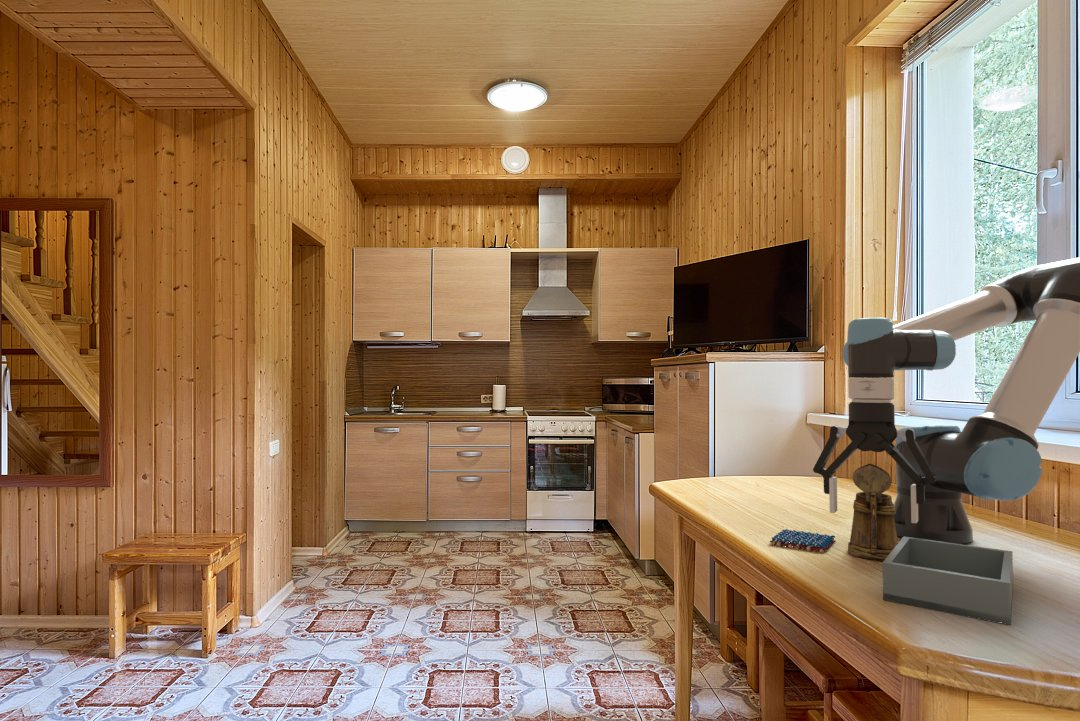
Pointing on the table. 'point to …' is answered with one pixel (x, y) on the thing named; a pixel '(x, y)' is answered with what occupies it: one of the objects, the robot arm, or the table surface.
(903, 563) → the bin
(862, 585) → the table surface
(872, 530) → the wooden mug
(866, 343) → the robot arm
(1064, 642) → the table surface
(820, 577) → the table surface
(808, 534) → the woven mat
